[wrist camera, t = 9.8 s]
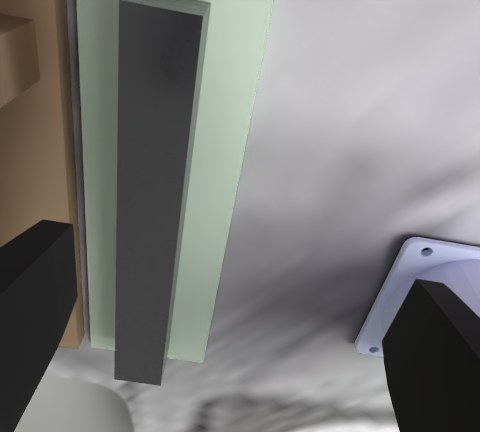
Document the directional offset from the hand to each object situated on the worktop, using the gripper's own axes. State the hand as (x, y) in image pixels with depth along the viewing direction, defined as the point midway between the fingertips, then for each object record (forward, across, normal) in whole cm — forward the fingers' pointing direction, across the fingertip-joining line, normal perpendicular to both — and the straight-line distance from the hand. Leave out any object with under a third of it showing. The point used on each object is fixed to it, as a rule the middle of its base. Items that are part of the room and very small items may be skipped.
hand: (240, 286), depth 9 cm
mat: (+9, +3, +5) cm, 11 cm away
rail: (+9, +3, +5) cm, 11 cm away
